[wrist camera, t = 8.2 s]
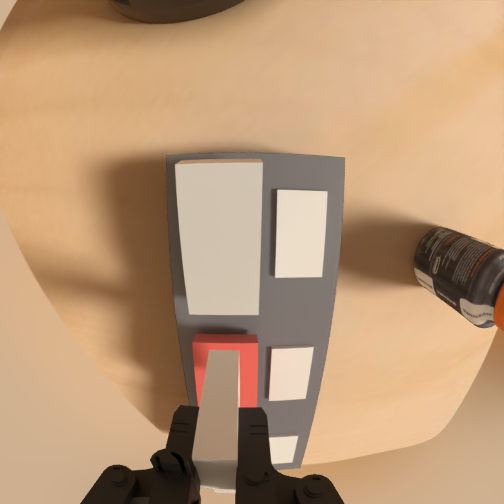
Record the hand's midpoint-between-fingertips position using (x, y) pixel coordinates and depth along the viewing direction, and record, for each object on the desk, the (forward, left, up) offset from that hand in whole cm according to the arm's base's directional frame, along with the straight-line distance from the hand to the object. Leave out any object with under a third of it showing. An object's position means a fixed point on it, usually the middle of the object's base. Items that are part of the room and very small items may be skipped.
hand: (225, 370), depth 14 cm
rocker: (-6, 0, -2) cm, 7 cm away
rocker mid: (+4, 0, -2) cm, 4 cm away
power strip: (+4, +2, -9) cm, 10 cm away
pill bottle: (-3, +19, -9) cm, 21 cm away
